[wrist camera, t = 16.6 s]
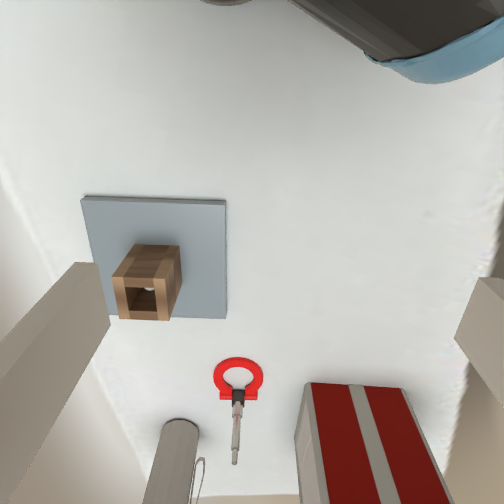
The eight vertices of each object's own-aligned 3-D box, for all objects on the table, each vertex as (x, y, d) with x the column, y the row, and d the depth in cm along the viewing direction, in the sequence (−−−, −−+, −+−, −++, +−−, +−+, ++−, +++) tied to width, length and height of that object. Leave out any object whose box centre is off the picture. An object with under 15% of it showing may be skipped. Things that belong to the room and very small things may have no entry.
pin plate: (85, 196, 44) (57, 217, 38) (225, 201, 44) (220, 222, 38) (109, 308, 53) (89, 340, 46) (226, 312, 52) (222, 344, 46)
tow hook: (213, 354, 57) (215, 394, 61) (201, 423, 46) (205, 466, 50) (263, 355, 57) (262, 395, 61) (264, 424, 46) (263, 467, 50)
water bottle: (160, 438, 68) (113, 617, 46) (164, 413, 64) (114, 594, 42) (206, 445, 69) (181, 624, 47) (212, 421, 65) (188, 602, 43)
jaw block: (134, 244, 45) (111, 276, 38) (179, 245, 45) (164, 278, 38) (139, 282, 48) (119, 318, 41) (182, 283, 48) (169, 320, 41)
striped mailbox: (382, 445, 68) (448, 651, 44) (293, 440, 67) (311, 643, 44) (406, 387, 60) (502, 600, 36) (305, 381, 59) (335, 591, 36)
